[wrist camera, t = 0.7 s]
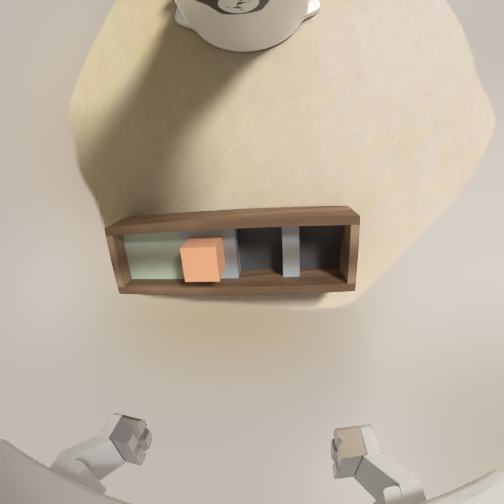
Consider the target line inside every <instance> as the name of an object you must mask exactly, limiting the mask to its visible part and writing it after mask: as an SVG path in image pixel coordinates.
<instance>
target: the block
mask: <svg viewBox="0 0 504 504" xmlns="http://www.w3.org/2000/svg"><path fill="white" fill-rule="evenodd" d="M180 253H181V259H182V266H183V272H184V278H185V282H220V279H221V277H222V275H223V272H224V270H225V258H224V248H223V238H222V236H211V237H190V238H189V239H188V240H187V241H186V242H185V243H184V245H183V246H182V247H181V248H180Z"/></svg>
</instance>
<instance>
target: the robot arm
mask: <svg viewBox="0 0 504 504" xmlns="http://www.w3.org/2000/svg"><path fill="white" fill-rule="evenodd" d="M174 1H175V2H176V4H177V6H178V7H177V10H176V14H175V20H176V22H177V23H178V24H179V25H181V26H184V27H187V28H190V29H193V30H195V31H196V32H197V33H198V34H199V35H200V36H201V37H202V38H203V39H204V40H206V41H207V42H209V43H210V44H212V45H214V46H216V47H219V48H222V49H225V50H230V51H239V52H248V51H257V50H262V49H266V48H269V47H272V46H275V45H277V44H279V43H281V42H282V41H284V40H286V39H287V38H288V37H289V36H291V35H292V34H293V33H294V32H295V30H296V29H297V28H298V26H299V25H300V24H301V23H302V21H304V20H305V19H307V18H309V17H311V16H313V15H315V14H316V13H318V12H319V10H320V3H319V1H318V0H310V1H309V0H174ZM146 425H147V424H146V422H145V421H144V420H142V419H137V418H133V417H129V416H125V415H121V414H117V413H114V414H112V416H111V417H110V419H109V420H108V422H107V423H106V425H105V426H104V428H103V430H102V431H101V433H100V435H95V436H93V437H91V438H89V439H87V440H85V441H83V442H81V443H79V444H77V445H74V446H72V447H70V448H68V449H66V450H63V451H61V452H60V454H59V455H58V457H57V458H56V460H55V461H54V463H53V464H52V465H51V467H50V468H48V467H47V466H45V465H43V464H41V463H39V462H38V461H36V460H35V459H33V458H31V457H30V456H28V455H27V454H25V453H24V452H22V451H21V450H19V449H17V448H16V447H15V446H13V445H12V444H10V443H9V442H8V441H6V440H3V439H1V440H0V504H130V503H127V502H124V501H121V500H118V499H115V498H113V497H110V496H107V495H105V494H104V493H105V491H106V488H105V487H104V485H102V483H101V482H100V480H101V479H103V478H104V477H105V476H107V475H108V474H110V473H111V472H113V471H114V470H116V469H117V468H118V467H120V466H121V465H123V464H124V463H125V461H126V462H130V463H133V464H138V465H142V463H143V460H144V459H145V456H146V454H145V451H146V450H147V449H149V447H150V445H151V440H152V437H151V433H150V431H149V430H148V429H147V428H146ZM331 456H332V460H334V464H333V473H334V478H335V479H336V478H345V477H354V478H355V479H356V480H357V481H358V482H359V483H360V484H361V485H362V486H363V487H364V488H365V489H366V490H367V491H368V492H369V493H370V494H371V495H372V496H373V497H374V498H375V499H376V501H375V503H374V504H504V472H501V471H498V470H494V471H491V472H489V473H487V474H485V475H483V476H481V477H480V478H478V479H476V480H474V481H472V482H470V483H468V484H465V485H463V486H461V487H459V488H457V489H455V490H452V491H450V492H447V493H445V494H443V495H440V496H438V497H435V498H432V499H430V500H427V501H426V497H425V495H424V491H423V488H422V485H421V482H420V479H419V478H418V477H417V476H416V475H414V474H413V473H411V472H410V471H408V470H407V469H405V468H404V467H403V466H401V465H400V464H399V463H397V462H396V461H394V460H393V459H392V458H390V457H389V456H387V455H386V454H385V453H383V452H381V453H380V452H379V449H378V445H377V442H376V438H375V435H374V432H373V428H372V426H371V425H370V424H368V425H362V426H353V427H346V428H338V429H335V431H334V439H333V440H332V443H331Z"/></svg>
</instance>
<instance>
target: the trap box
mask: <svg viewBox="0 0 504 504" xmlns="http://www.w3.org/2000/svg"><path fill="white" fill-rule="evenodd" d="M359 227H360V216H359V215H358V214H357V213H356V212H355V211H353V210H352V209H351V208H350V207H348V206H318V207H281V208H256V209H236V210H218V211H202V212H188V213H175V214H162V215H151V216H140V217H129V218H124V219H122V220H120V221H118V222H116V223H114V224H112V225H110V226H109V227H107V228H105V233H106V238H107V243H108V247H109V252H110V257H111V261H112V266H113V270H114V274H115V278H116V282H117V285H118V289H119V293H121V294H122V293H123V294H155V295H261V294H297V293H322V292H342V291H355V284H356V273H357V261H358V246H359ZM211 236H222V238H223V248H224V258H225V270H224V272H223V275H222V277H221V279H220V282H185V278H184V272H183V266H182V259H181V253H180V248H181V247H182V246H183V245H184V243H185V242H186V241H187V240H188V239H189V238H190V237H211Z"/></svg>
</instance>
